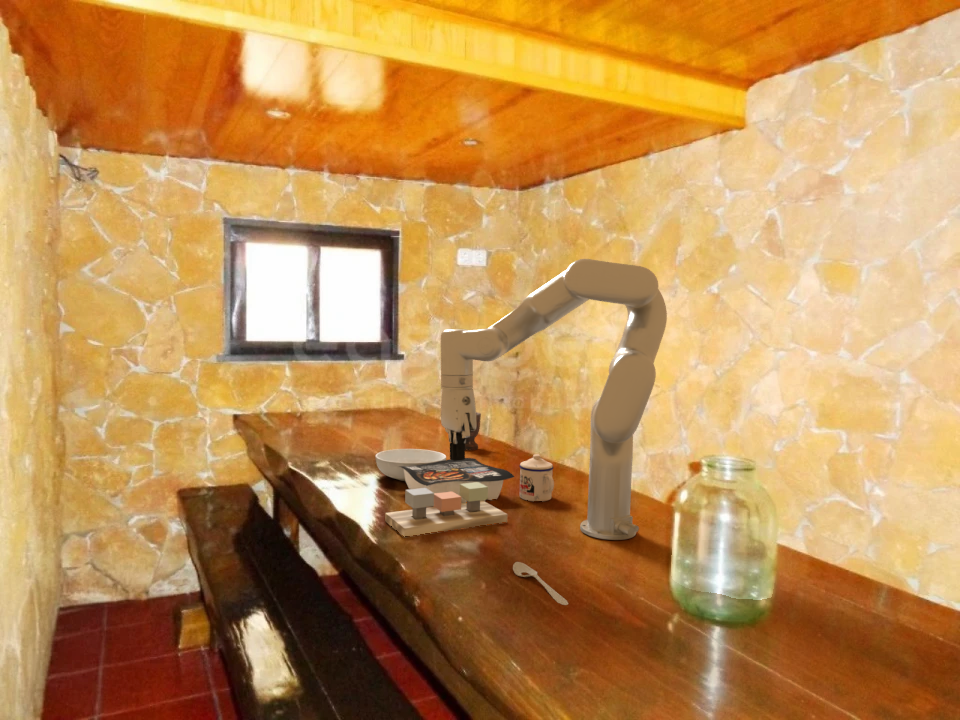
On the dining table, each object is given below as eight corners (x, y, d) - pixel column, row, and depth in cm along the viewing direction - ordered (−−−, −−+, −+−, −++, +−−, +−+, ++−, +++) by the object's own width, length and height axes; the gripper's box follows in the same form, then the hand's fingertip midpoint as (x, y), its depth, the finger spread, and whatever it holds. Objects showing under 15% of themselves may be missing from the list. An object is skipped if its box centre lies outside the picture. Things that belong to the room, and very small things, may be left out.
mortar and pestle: (487, 452, 234) (488, 396, 233) (465, 453, 230) (466, 397, 229) (474, 445, 245) (475, 392, 243) (452, 447, 241) (453, 393, 240)
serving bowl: (455, 484, 189) (455, 460, 188) (383, 489, 181) (384, 464, 181) (434, 467, 208) (434, 446, 208) (368, 471, 201) (369, 449, 200)
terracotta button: (460, 521, 153) (461, 496, 152) (441, 523, 151) (441, 499, 150) (451, 515, 157) (452, 491, 157) (432, 517, 155) (433, 493, 155)
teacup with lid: (512, 495, 178) (513, 453, 178) (539, 491, 183) (540, 450, 182) (537, 506, 168) (539, 462, 167) (565, 502, 173) (567, 459, 172)
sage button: (487, 510, 156) (487, 486, 156) (468, 513, 154) (469, 489, 153) (477, 505, 160) (478, 481, 160) (459, 507, 158) (459, 483, 158)
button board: (507, 522, 155) (507, 514, 155) (404, 537, 143) (404, 528, 142) (483, 508, 165) (483, 500, 165) (385, 521, 153) (385, 512, 153)
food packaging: (427, 483, 161) (394, 463, 181) (426, 513, 161) (394, 490, 181) (514, 473, 173) (475, 456, 192) (513, 501, 173) (474, 481, 193)
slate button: (433, 518, 149) (434, 493, 149) (413, 520, 147) (413, 495, 147) (424, 511, 154) (425, 487, 153) (404, 514, 152) (405, 489, 151)
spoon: (525, 568, 128) (525, 559, 128) (586, 612, 110) (587, 602, 110) (506, 571, 126) (507, 562, 126) (565, 616, 108) (566, 606, 108)
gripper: (486, 383, 148) (486, 464, 149) (456, 378, 161) (457, 452, 162) (457, 385, 145) (457, 467, 146) (429, 380, 158) (429, 455, 159)
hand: (457, 459), depth 154 cm, fingers closed
